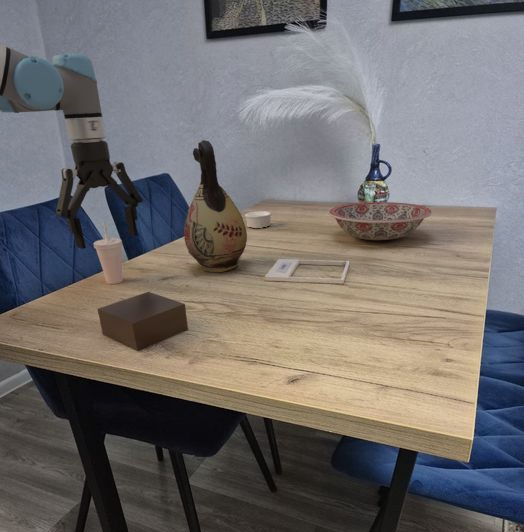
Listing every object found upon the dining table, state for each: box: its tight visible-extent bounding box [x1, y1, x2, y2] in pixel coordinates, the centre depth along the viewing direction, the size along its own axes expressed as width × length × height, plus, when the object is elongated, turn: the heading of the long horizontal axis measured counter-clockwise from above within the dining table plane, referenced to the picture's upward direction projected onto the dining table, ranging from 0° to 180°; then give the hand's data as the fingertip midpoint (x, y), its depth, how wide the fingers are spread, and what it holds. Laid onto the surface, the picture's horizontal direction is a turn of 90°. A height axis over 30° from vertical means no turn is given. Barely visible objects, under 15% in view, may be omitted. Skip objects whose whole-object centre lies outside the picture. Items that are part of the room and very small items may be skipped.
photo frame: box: [264, 258, 351, 285], centre depth 113 cm, size 15×1×18 cm
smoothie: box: [93, 221, 124, 285], centre depth 110 cm, size 6×6×14 cm
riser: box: [97, 291, 189, 352], centre depth 85 cm, size 11×11×5 cm
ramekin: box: [244, 210, 272, 228], centre depth 161 cm, size 9×9×4 cm
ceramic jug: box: [183, 139, 248, 273], centre depth 113 cm, size 17×15×30 cm
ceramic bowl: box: [328, 201, 433, 241], centre depth 139 cm, size 29×29×8 cm
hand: (108, 241), depth 109 cm, fingers open, 13 cm apart
